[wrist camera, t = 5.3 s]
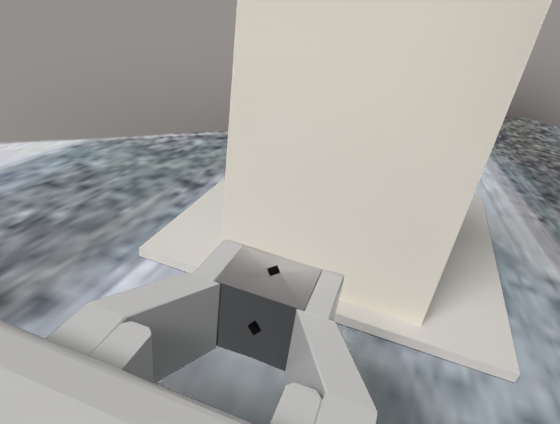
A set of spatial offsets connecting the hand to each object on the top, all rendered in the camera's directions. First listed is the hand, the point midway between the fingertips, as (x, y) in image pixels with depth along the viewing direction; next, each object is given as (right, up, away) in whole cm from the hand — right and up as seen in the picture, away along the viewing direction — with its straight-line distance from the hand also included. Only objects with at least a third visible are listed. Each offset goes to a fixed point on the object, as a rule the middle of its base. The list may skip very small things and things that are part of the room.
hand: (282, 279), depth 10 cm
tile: (+2, -2, +11) cm, 11 cm away
